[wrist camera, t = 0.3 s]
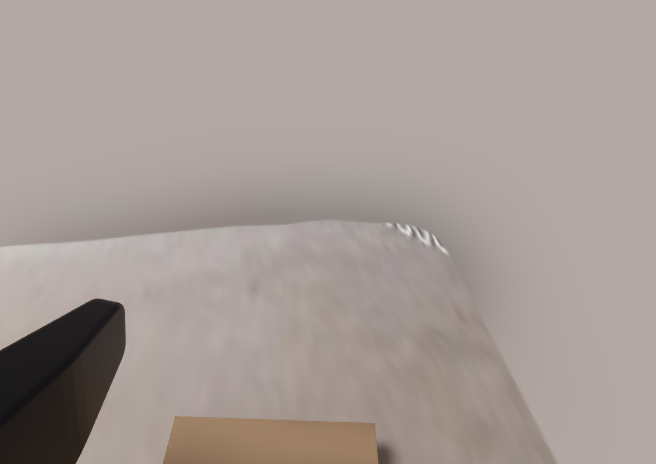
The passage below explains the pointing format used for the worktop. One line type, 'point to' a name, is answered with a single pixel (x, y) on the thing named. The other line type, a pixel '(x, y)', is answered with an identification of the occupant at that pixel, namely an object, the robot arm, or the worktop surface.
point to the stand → (270, 442)
